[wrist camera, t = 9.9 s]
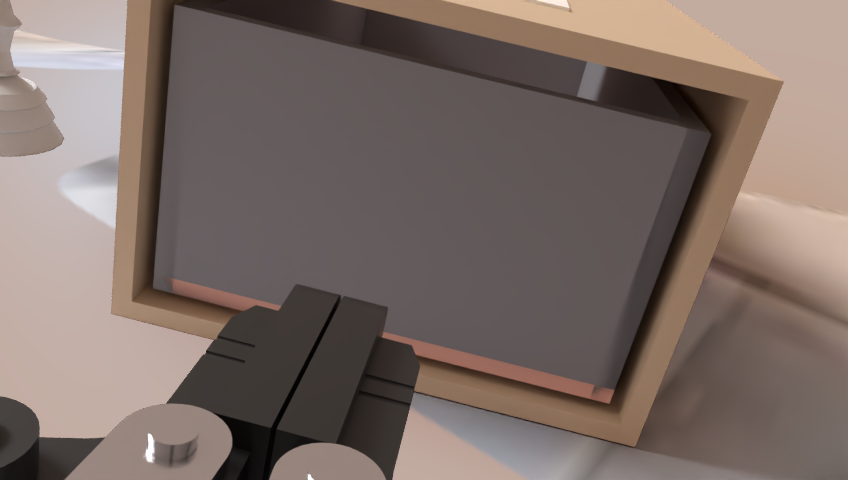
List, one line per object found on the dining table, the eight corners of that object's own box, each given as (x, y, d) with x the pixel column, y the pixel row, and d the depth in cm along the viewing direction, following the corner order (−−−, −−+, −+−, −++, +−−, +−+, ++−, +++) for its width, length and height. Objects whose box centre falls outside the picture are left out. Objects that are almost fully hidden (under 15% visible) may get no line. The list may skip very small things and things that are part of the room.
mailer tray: (609, 404, 23) (711, 134, 20) (152, 288, 23) (174, 4, 20) (569, 151, 47) (612, 10, 43) (343, 96, 47) (368, -48, 44)
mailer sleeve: (634, 447, 23) (785, 77, 18) (111, 313, 23) (131, -79, 19) (591, 221, 39) (665, -3, 35) (284, 146, 40) (318, -85, 35)
